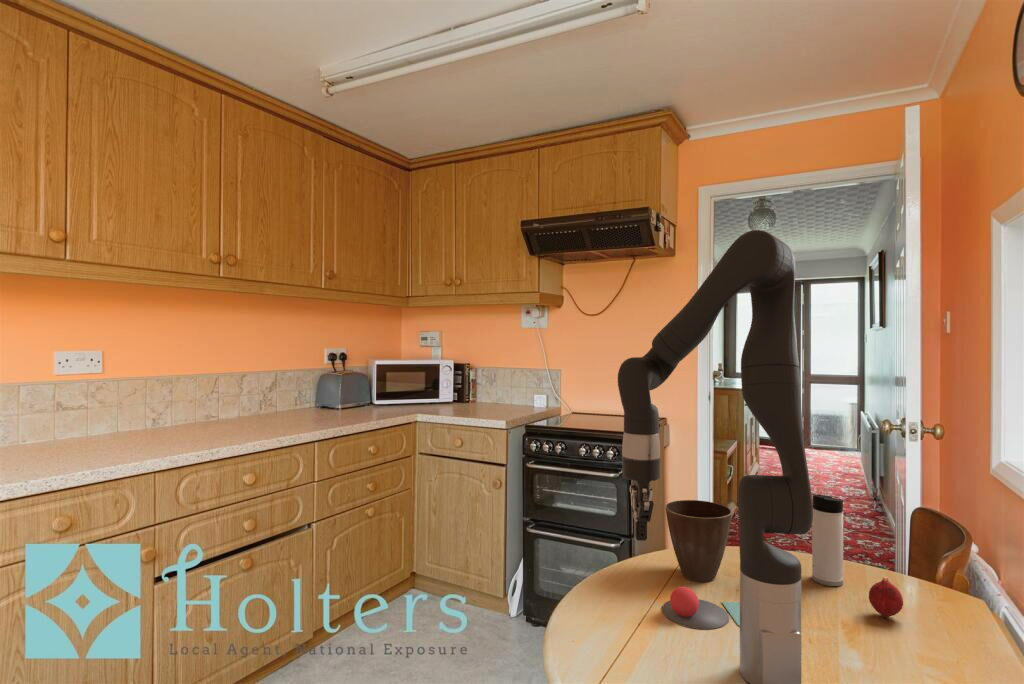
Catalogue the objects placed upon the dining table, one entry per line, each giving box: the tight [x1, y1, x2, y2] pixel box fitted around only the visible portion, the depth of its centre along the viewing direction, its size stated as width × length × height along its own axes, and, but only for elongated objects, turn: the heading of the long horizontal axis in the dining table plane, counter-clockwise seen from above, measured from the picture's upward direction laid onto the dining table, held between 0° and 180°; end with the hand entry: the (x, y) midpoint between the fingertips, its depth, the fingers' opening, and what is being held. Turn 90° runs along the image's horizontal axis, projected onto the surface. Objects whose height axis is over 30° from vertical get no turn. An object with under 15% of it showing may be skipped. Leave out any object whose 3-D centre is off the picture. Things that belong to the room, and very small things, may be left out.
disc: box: [661, 598, 730, 630], centre depth 116 cm, size 13×13×1 cm
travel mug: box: [811, 493, 844, 587], centre depth 132 cm, size 6×7×20 cm
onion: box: [868, 576, 904, 618], centre depth 115 cm, size 6×6×8 cm
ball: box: [669, 586, 699, 617], centre depth 115 cm, size 6×6×6 cm
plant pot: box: [664, 499, 733, 583], centre depth 135 cm, size 15×15×16 cm
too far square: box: [721, 601, 740, 627], centre depth 116 cm, size 10×10×1 cm
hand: (640, 539), depth 116 cm, fingers closed
